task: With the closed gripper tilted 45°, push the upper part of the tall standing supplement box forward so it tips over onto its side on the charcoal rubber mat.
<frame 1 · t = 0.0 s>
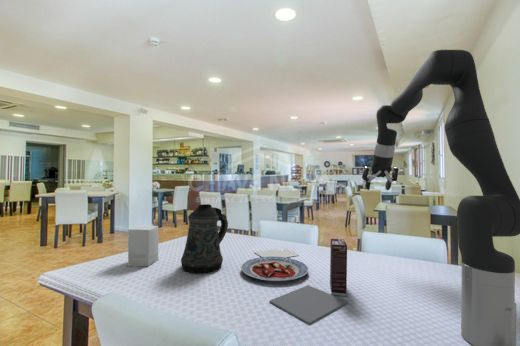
hand: (377, 189, 117), 31 cm above the table, tool tilted 20°, fingers open, 8 cm apart
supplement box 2: (143, 263, 112), on the table
supplement box: (338, 290, 87), on the table
beer stein: (204, 266, 109), on the table
charcoal mat: (308, 302, 78), on the table
paper stack: (277, 251, 132), on the table
ceramic plate: (274, 273, 103), on the table
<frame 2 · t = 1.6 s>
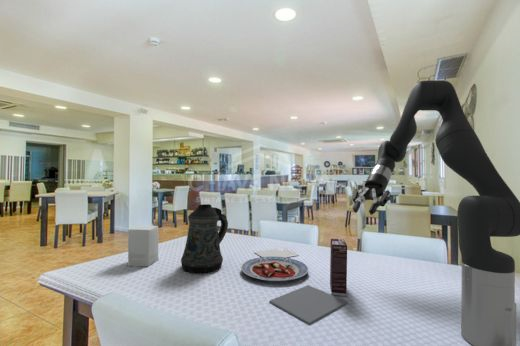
hand: (362, 212, 97), 24 cm above the table, tool tilted 45°, fingers open, 5 cm apart
nothing on the table moved.
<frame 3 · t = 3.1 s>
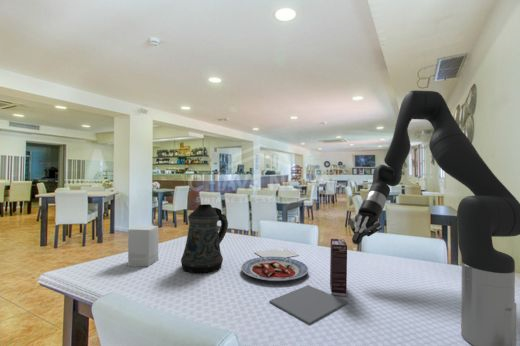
hand: (355, 243, 94), 14 cm above the table, tool tilted 45°, fingers closed
nothing on the table moved.
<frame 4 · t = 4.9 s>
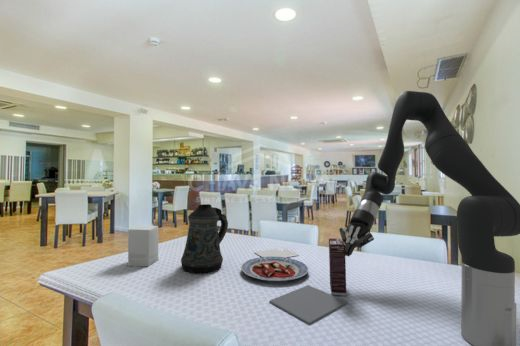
hand: (345, 254, 90), 11 cm above the table, tool tilted 45°, fingers closed
nothing on the table moved.
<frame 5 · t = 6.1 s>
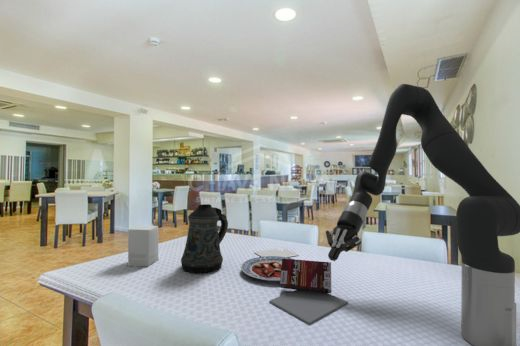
hand: (331, 259, 85), 11 cm above the table, tool tilted 45°, fingers closed
supplement box: (331, 277, 84), point 5 cm above the table, touching charcoal mat
everything else where it was.
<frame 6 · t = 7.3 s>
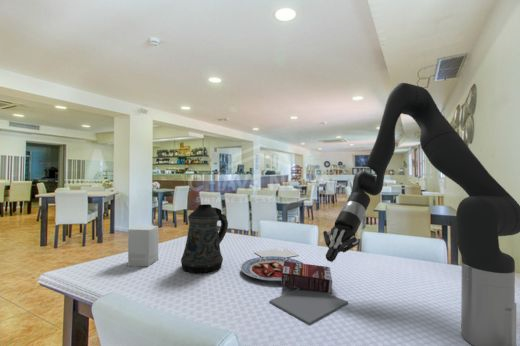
hand: (328, 260, 84), 11 cm above the table, tool tilted 45°, fingers closed
supplement box: (331, 279, 88), point 3 cm above the table, touching charcoal mat
everything else where it was.
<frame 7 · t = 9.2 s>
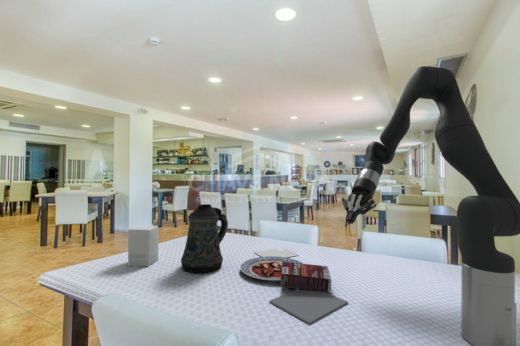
hand: (349, 222, 90), 22 cm above the table, tool tilted 45°, fingers closed
supplement box: (329, 278, 88), point 3 cm above the table, touching ceramic plate, charcoal mat
ceramic plate: (273, 272, 103), on the table, touching supplement box
everything else where it was.
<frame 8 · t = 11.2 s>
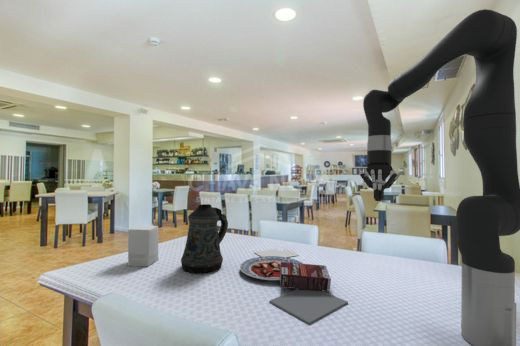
hand: (378, 200, 90), 29 cm above the table, tool pointing down, fingers closed
nothing on the table moved.
at the end: supplement box tilted 87°; supplement box inside the target area (6.0 cm from its centre), point 3.3 cm above the table; supplement box touching charcoal mat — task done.
